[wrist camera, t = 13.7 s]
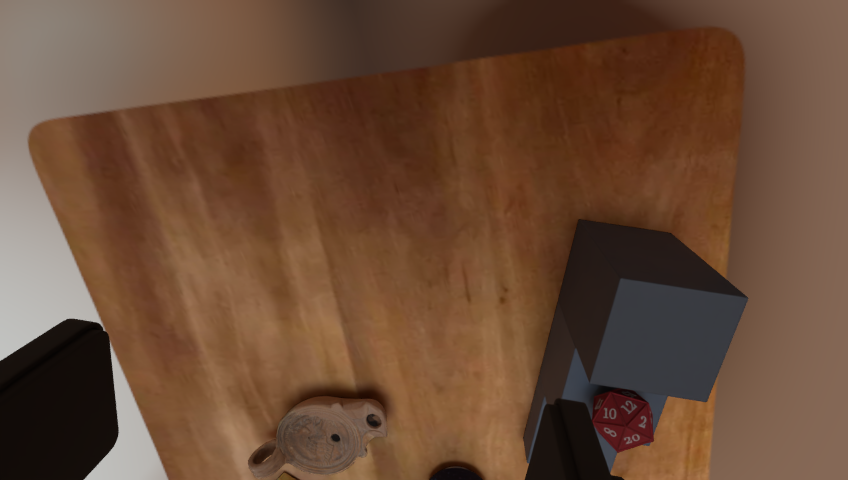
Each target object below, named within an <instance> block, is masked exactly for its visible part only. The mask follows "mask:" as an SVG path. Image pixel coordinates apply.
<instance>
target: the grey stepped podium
mask: <svg viewBox="0 0 848 480" xmlns="http://www.w3.org/2000/svg"><path fill="white" fill-rule="evenodd" d="M747 301H748V297H747V296H745V295H744V294H743V293H742V292H741V291H739V290H738V289H737V288H735V286H733V285H732V284H731V283H730V282H729V281H728V280H726V279H725V278H724V277H723V276H722V275H720V274H719V273H718V272H717V271H716V270H714V269H713V268H712V267H711V266H710V265H708V264H707V263H706V262H705V261H704V260H702V259H701V258H700V257H699V256H698V255H696V254H695V253H694V252H693V251H692V250H690V249H689V248H688V247H687V246H686V245H684V244H683V243H682V242H681V241H680V240H678V239H677V238H676V237H675V236H674V235H672V234H671V233H667V232H660V231H653V230H647V229H640V228H633V227H627V226H620V225H614V224H607V223H600V222H594V221H587V220H581V219H579V220H578V224H577V228H576V232H575V236H574V240H573V244H572V248H571V252H570V256H569V260H568V264H567V267H566V271H565V275H564V279H563V283H562V287H561V291H560V295H559V299H558V303H557V307H556V311H555V315H554V319H553V323H552V327H551V331H550V334H549V338H548V342H547V346H546V350H545V354H544V358H543V362H542V366H541V370H540V375H539V378H538V382H537V386H536V390H535V394H534V398H533V402H532V406H531V410H530V414H529V418H528V422H527V426H526V429H525V433H524V437H523V439H524V446H525V453H526V460H527V463H529V462H530V459H531V455H532V451H533V447H534V443H535V440H536V436H537V432H538V428H539V425H540V421H541V417H542V413H543V409H544V406H545V405H546V404H554V401H555V400H556V399H557V398H561V399H567V400H573V401H579V402H584V403H585V404H586V406H587V408H588V411H589V414H590V416H591V419H592V412H593V402H594V396H597V395H600V394H603V393H606V392H609V391H612V390H614V389H617V388H622V389H628V390H634V391H635V392H636V393H637V394H638V395H640V396H641V397H642V398H643V399H645V400H646V401H647V402H648V403H649V405H650V408H651V411H652V414H653V435H654V432H655V429H656V427H657V424H658V421H659V418H660V416H661V413H662V410H663V408H664V405H665V402H666V399H667V397H668V396H671V397H677V398H683V399H689V400H696V401H702V402H707V400H708V398H709V395H710V393H711V390H712V388H713V385H714V383H715V380H716V378H717V375H718V373H719V370H720V368H721V365H722V363H723V360H724V358H725V355H726V353H727V350H728V348H729V345H730V343H731V340H732V338H733V335H734V333H735V330H736V328H737V325H738V323H739V321H740V318H741V315H742V313H743V311H744V308H745V306H746V303H747ZM594 428H595V427H594ZM595 431H596V434H597V437H598V439H599V442H600V445H601V448H602V451H603V454H604V457H605V460H606V462H607V465H608V468H609V471H610V472H611V469H612V466H613V463H614V460H615V457H616V455H617V452H616V451H615V449H614V448H613V447H612V446H611V445H610V444H609V443H608V442H607V441H606V440H605V439H604V438H603V437H602V436H601V435H600V434H599V432H598V431H597V430H596V428H595ZM650 443H651V442H649V443H646V444H643V445H646V446H650Z"/></svg>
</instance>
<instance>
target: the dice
mask: <svg viewBox="0 0 848 480" xmlns="http://www.w3.org/2000/svg"><path fill="white" fill-rule="evenodd" d="M592 422H593V425H594V427H595V428H596V430H597V431H598V432H599V434H600V435H601V436H602V437H603V438H604V439H605V440H606V441H607V442H608V443H609V444H610V445H611V446H612V447H613V448H614V449H615V451H616V452H617V453H618V452H621V451H624V450H627V449H631V448H634V447H637V446H640V445H643V444H646V443H649V442H653V441H654V437H653V414H652V411H651V408H650V405H649V403H648V402H647V401H646V400H645V399H643V398H642V397H641V396H640V395H638V394H637V393H636V392H635V391H634V390H628V389H622V388H617V389H614V390H612V391H609V392H606V393H603V394H600V395H597V396H594V402H593V412H592Z"/></svg>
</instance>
